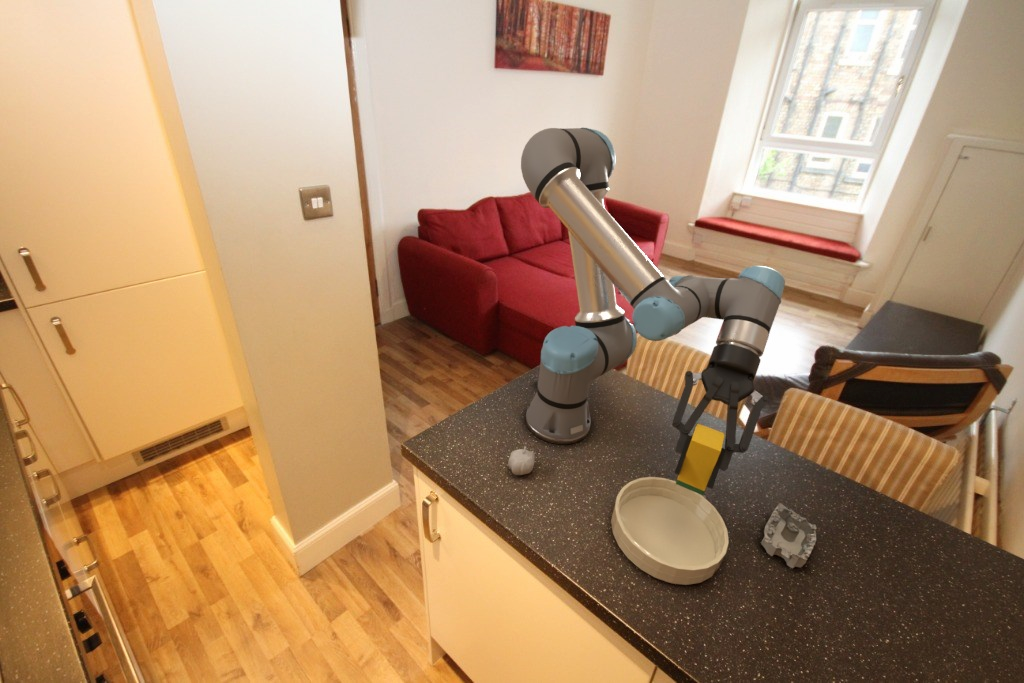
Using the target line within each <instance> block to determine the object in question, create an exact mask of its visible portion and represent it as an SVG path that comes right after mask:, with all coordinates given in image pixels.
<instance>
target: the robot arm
mask: <svg viewBox="0 0 1024 683" xmlns="http://www.w3.org/2000/svg"><path fill="white" fill-rule="evenodd" d="M616 161H617V160H616V150H615V148H614V145H613V143H612V141H611V140H610V139H609V137H608V136H607V135H606V134H604V133H603V132H602V131H600V130H597V129H592V128H589V127H576V128H575V127H573V128H568V127H567V128H559V127H558V128H557V127H548V128H544V129H542V130H539V131H538V132H536V133H535V134H533V135H531V137H530V138H529V139H528V141H527V142H526V143H525V145H524V147H523V150H522V153H521V157H520V170H521V174H522V178H523V181H524V184H525V185H526V187H527V189H528V191H529V192H530V194H531V195H532V197H533V198H534V200H535V201H536V202H538V204H539V205H540V207H542V208H543V209H550V210H551V212H553V213H554V215H555V216H556V217H557V219H558V220H559V221H560V222H561V224H562V225H563V226H564V227H565V228H566V230H567V233H568V241H569V246H570V247H569V248H570V254H571V261H572V268H573V273H574V274H573V275H574V280H575V288H576V294H577V300H578V307H579V308H578V309H579V311H578V312H577V313H576V315H575V317H574V324H575V325H570V326H568V325H563V326H559V327H557V328H554V329H553V330H551V331H550V332H549V333H547V335H546V336H545V337H544V340H543V343H542V347H541V350H540V361H539V362H540V363H539V370H538V379H537V381H534V382H533V383H534V386H535V388H536V392H535V394H534V396H533V398H532V399H531V402H530V404H529V405H528V407H527V409H526V412H525V424H526V427H527V428H528V430H529V431H530V432H531V433H532V435H534V436H535V437H536V438H538V439H540V440H542V441H544V442H547V443H551V444H555V445H571V444H576V443H578V442H580V441H583V440H584V439H585V438H586V437H587V436H588V434H589V432H590V430H591V424H592V423H591V422H592V421H591V419H592V418H591V412H590V408H589V407H590V406H589V403H588V402H589V401H588V398H589V393H590V389H591V384H592V382H594V381H595V380H596V379H598V378H599V377H602V376H603V375H605V374H606V373H609V371H612V370H613V369H615V368H617V367H620V366H621V365H623V364H624V363H625V362H626V361H627V360H628V359H630V358H631V357H632V355H633V354H634V352H635V350H636V348H637V344H638V335H640V337H642V338H644V339H645V340H648V341H651V342H661V341H665V339H668V338H671V337H673V336H676V335H677V334H679V333H680V332H681V331H682V330H684V329H686V328H688V327H689V326H690V325H693V324H694V323H696V322H698V321H699V320H701V319H702V318H707V319H708V318H709V319H714V320H715V319H716V320H722V322H721V326H720V330H719V332H718V335H717V337H716V340H715V344H716V345H715V346H714V347H713V349H712V352H711V355H710V357H709V360H708V363H707V365H706V367H705V368H704V369H703V370H702V371H701V372H692V371H691V370H687V371H686V372H685V373H684V387H683V391H682V392H681V396H680V399H679V402H678V404H677V407H676V410H675V413H674V416H673V419H672V423H671V424H672V427H673V428H675V429H676V430H677V431H678V432H679V436H678V439H677V442H676V445H675V447H674V450H675V453H678V454H680V456H679V459H678V461H677V464H676V467H675V470H674V474H675V475H677V476H678V475H679V474H680V471H681V468H682V465H683V462H684V460H685V457H686V453H687V451H688V448H689V445H690V442H691V439H692V436H693V435H690V433H691V431H692V430H693V428H694V426H696V425H697V423H698V421H699V419H700V418H701V417H702V415H703V413H704V412H705V410H706V409H707V407H708V406H709V405H710V403H711V402H712V401H714V402H721V403H722V404H724V405H727V407H726V424H725V437H724V447H722V449H721V452H720V455H719V457H718V460H717V462H716V465H715V467H714V469H713V471H712V474H711V476H710V478H709V481H708V483H707V486H706V488H709V489H713V488H714V485H715V482H716V480H717V477H718V474H719V471H723V472H726V471H727V470H728V468H729V466H730V464H731V460H732V458H733V454H734V453H740V454H744V453H746V452H747V451H748V450H749V448H750V444H751V441H752V438H753V436H754V434H755V431H756V430H755V429H756V427H757V424H758V421H759V419H760V415H761V412H762V410H763V408H765V407H766V405H767V404H768V403H769V402H770V398H769V396H767V395H762V394H761V393H760V392H758V391H757V390H756V386H755V378H756V375H757V373H758V370H759V366H760V364H761V358H760V357H762V356H763V355H764V352H765V348H766V345H767V343H768V340H769V338H770V334H771V333H770V332H771V329H772V327H773V324H774V322H775V318H776V317H777V316H776V315H777V313H778V310H779V308H780V305H781V304H782V296H783V292H784V289H785V284H786V280H785V277H784V276H783V274H781V273H780V272H779V271H777V270H776V269H773V268H772V267H769V266H765V265H764V266H763V265H752V266H748V267H745V268H743V269H742V270H741V271H740V272H739V275H738V276H737V278H721V277H720V278H719V277H707V276H695V275H691V274H687V275H675V276H672V277H671V278H670V279H669V280H668V279H667V278H666V277H665V276H664V274H662V272H660V270H659V269H658V268H657V267H656V266H655V264H654V263H653V262H652V261H651V260H650V258H649V257H648V256H647V255H646V254H645V253H644V251H642V250H641V249H640V247H639V246H638V245H637V244H636V243H635V241H634V240H633V239H632V238H631V237H630V236H629V234H628V233H627V232H626V231H625V230H624V229H623V228H622V226H621V225H620V224H619V223H618V222H617V220H615V218H614V217H613V216H612V215H611V213H609V211H608V210H607V209H606V208H605V202H604V199H605V196H606V195H607V194H608V192H609V191H610V185H609V179H610V178H611V176H612V174H613V173H612V172H613V171H614V170H615V166H616ZM615 288H616V289H617V290H618V292H619V293H620V294H621V295H622V296H623V297H624V299H625V300H626V302H628V304H629V305H630V306H631V307H632V309H633V311H632V322H633V323H630V322H631V321H630V319H628V318H627V317H626V314H625V310H624V309H623V308H621V307H620V306H619V305H618V304H617V298H616V289H615ZM637 333H638V335H637ZM699 381H701V383H702V385H703V388H704V390H705V393H704V395H703V397H702V398H701V400H700V401H699V403H698V405H697V406H695V408H694V411H692V413H691V415H690V416H689V417H688V419H687V420H686V422H685V424H684V423H683V422H682V420H683V417H684V415H685V411H686V408H687V406H688V403H689V400H690V397H691V394H692V392H693V391H692V390H693V386H694V387H695V386H697V385H698V382H699ZM748 397H750V398H751V400H750V405H751V406H752V407H751V409H750V411H749V414H748V417H747V420H746V422H745V426H744V428H743V431H742V434H741V437H740V440H739V443H736V436H737V435H736V434H737V420H738V408H739V403H740V402H742V401H744V400H745V399H746V398H748Z"/></svg>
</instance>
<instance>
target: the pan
mask: <svg viewBox="0 0 1024 683" xmlns="http://www.w3.org/2000/svg"><path fill="white" fill-rule="evenodd" d="M676 481H677V480H673V479H669V478H664V477H656V476H647V477H639V478H637V479H634V480H631V481H629V482H627V483H626V484H625V485H624V486H623V487H622V488H621V489H620V491H619V492H618V494H617V496H616V497H615V502H614V505H613V508H612V513H611V519H610V524H611V530H612V535H613V537H614V539H615V541H616V544H617V545H618V547H619V549H620V550H621V551H622V553H623V554H624V555H625V557H626V558H627V559H628V560H629V561H630V562H631V563H633V564H634V565H635V566H636V567H637V568H638V569H639V570H641V571H642V572H644V573H646V574H648V575H650V576H651V577H653V578H655V579H658V580H660V581H664V582H666V583H670V584H675V585H682V586H683V585H684V586H687V585H688V586H689V585H693V584H700V583H703V582H704V581H706V580H709V579H710V578H712V577H713V576H714V574H715V573H717V571H718V570H719V568H720V566H721V565H722V562H723V560H724V558H725V556H726V554H727V551H728V548H729V543H730V542H729V541H730V540H729V530H728V528H727V525H726V524H725V521H724V519H723V517H722V516H721V514H720V512H719V510H717V508H716V507H715V506H714V505H713V504H712V503H711V502H710V501H709V499H706V497H704V495H701V494H698V493H696V492H694V491H691V490H689V489H687V488H684V487H682V486H680V485H677V484H676Z"/></svg>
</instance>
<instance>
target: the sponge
mask: <svg viewBox="0 0 1024 683" xmlns="http://www.w3.org/2000/svg"><path fill="white" fill-rule="evenodd" d="M691 436H692V439H691V442H690V445H689V448H688V451H687V453H686V457H685V460H684V462H683V465H682V468H681V471H680V474H679V475H678V474H677V478H676V480H675V481H676V484H677V485H680V486H682V487H684V488H687V489H689V490H691V491H694V492H696V493H698V494H700V495H702V496H704V494H705V492H706V488H707V487H706V486H707V483H708V481H709V478H710V476H711V474H712V471H713V469H714V467H715V465H716V462H717V460H718V457H719V455H720V452H721V449H722V448H723V445H724V442H725V437H726V432H722V431H719V430H717V429H714V428H711V427H709V426H706V425H703V424H702V423H698V422H696V424H695V428H694V430H693V433H692V435H691Z"/></svg>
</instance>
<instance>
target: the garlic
mask: <svg viewBox="0 0 1024 683" xmlns="http://www.w3.org/2000/svg"><path fill="white" fill-rule="evenodd" d="M527 447H528V446H527V445H524V446H523V448H519V449H514V450H512V451H511V452H510V456H509V458H508V462H507V465H508V468H509V469H510V470H511V473H512V474H513V475H515V476H523V475H529V474H530V473H531V472H532V471H533V469H534V466H535V464H536V461H535V459H536V455H535V453H534V452H533V451H532V450H531V451H530V450H528V449H527Z"/></svg>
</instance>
